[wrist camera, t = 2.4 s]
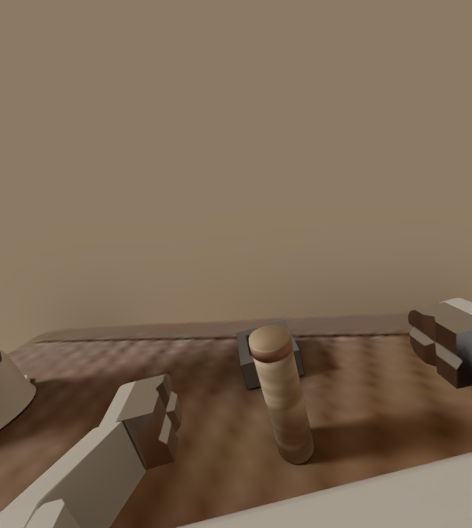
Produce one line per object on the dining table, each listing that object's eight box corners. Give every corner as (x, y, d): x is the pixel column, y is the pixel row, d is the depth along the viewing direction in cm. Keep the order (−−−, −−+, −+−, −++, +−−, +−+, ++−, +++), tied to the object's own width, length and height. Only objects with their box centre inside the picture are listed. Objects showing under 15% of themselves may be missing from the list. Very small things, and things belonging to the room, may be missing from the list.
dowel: (282, 468, 24) (250, 354, 20) (274, 433, 28) (246, 330, 24) (320, 458, 24) (295, 342, 20) (307, 424, 28) (283, 320, 24)
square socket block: (247, 389, 34) (240, 365, 33) (242, 353, 42) (236, 333, 41) (304, 374, 34) (299, 349, 33) (288, 341, 42) (284, 320, 41)
